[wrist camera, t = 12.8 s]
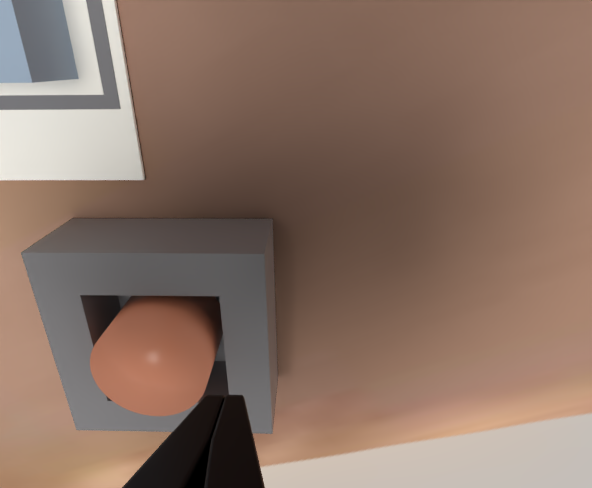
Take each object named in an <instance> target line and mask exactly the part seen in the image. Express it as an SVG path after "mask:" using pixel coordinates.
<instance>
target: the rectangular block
mask: <svg viewBox="0 0 592 488" xmlns="http://www.w3.org/2000/svg"><path fill="white" fill-rule="evenodd" d="M71 79H79V78H78V73H77V68H76V64H75V59H74V54H73V50H72V45H71V40H70V35H69V31H68V26H67V21H66V16H65V12H64V7H63V2H62V0H0V83H34V82H46V81H59V80H71Z"/></svg>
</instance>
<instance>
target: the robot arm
mask: <svg viewBox="0 0 592 488" xmlns="http://www.w3.org/2000/svg"><path fill="white" fill-rule="evenodd" d="M122 488H265V487H264V482H263V478H262V474H261V469H260V465H259V460H258V456H257V451H256V447H255V442H254V438H253V434H252V429H251V425H250V420H249V416H248V411H247V407H246V403H245V398H244V396H243V395H226V396H224V395H222V394H208V395H206V396H205V397H204V398H203V399H202V400H201V401H200V402H199V403H198V404H197V405H196V407H195V408H194V409H193V410H192V411H191V412H190V413H189V414H188V415H187V417H186V418H185V419H184V420H183V421H182V422H181V423H180V424H179V425H178V426H177V428H176V429H175V430H174V431H173V432H172V433H171V434H170V435H169V436H168V438H167V439H166V440H165V441H164V442H163V443H162V444H161V445H160V446H159V448H158V449H157V450H156V451H155V452H154V453H153V454H152V455H151V456H150V457H149V459H148V460H147V461H146V462H145V463H144V464H143V465H142V466H141V467H140V469H139V470H138V471H137V472H136V473H135V474H134V475H133V476H132V477H131V479H130V480H129V481H128V482H127V483H126V484H125V485H124V486H123V487H122Z"/></svg>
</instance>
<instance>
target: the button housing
mask: <svg viewBox="0 0 592 488" xmlns="http://www.w3.org/2000/svg"><path fill="white" fill-rule="evenodd" d="M21 255H22V258H23V261H24V264H25V267H26V270H27V274H28V277H29V280H30V283H31V286H32V290H33V293H34V296H35V299H36V302H37V305H38V309H39V312H40V315H41V318H42V321H43V325H44V328H45V331H46V334H47V337H48V340H49V344H50V347H51V350H52V353H53V356H54V360H55V363H56V366H57V369H58V372H59V375H60V379H61V382H62V385H63V388H64V391H65V394H66V398H67V401H68V404H69V407H70V410H71V414H72V417H73V420H74V423H75V426H76V429H77V430H105V431H159V432H173V431H174V430H175V429H176V428H177V426H178V425H179V424H180V423H181V422H182V421H183V420H184V419H185V418H186V417H187V415H188V414H189V413H190V412H191V411H192V410H193V409H194V408H195V407H196V405H197V404H198V403H199V402H200V401H201V400H202V399H203V398H204V397H205V396H206V395H208V394H222V395H224V396H226V395H243V396H244V398H245V403H246V407H247V411H248V416H249V420H250V425H251V429H252V433H265V434H272V433H273V423H274V413H275V403H276V393H277V383H278V362H277V333H276V303H275V274H274V245H273V219H186V218H72V219H71V220H69V221H68V222H66V223H65V224H63V225H62V226H60V227H59V228H57V229H56V230H54V231H53V232H51V233H50V234H48V235H47V236H45V237H44V238H42V239H41V240H39V241H38V242H36V243H35V244H33V245H32V246H30V247H29V248H27V249H26V250H24V251H23V252H21ZM131 296H215V297H216V299H217V300H218V302H219V303H220V309H221V319H222V329H223V335H222V339H221V342H220V345H219V348H218V351H217V354H216V358H215V361H214V364H213V367H212V370H211V373H210V377H209V380H208V383H207V386H206V389H205V392H204V394H203V396H202V397H201V398H200V400H199V401H198V402H197V403H196V404H195V405H194V406H192V407H191V408H189V409H187V410H185V411H183V412H181V413H178V414H174V415H169V416H149V415H143V414H139V413H135V412H132V411H130V410H127V409H125V408H123V407H121V406H119V405H118V404H116V403H115V402H113V401H112V400H110V399H109V398H108V397H107V396H106V395H105V394H104V393H103V392H102V391H101V390H100V388H99V387H98V385H97V384H96V382H95V380H94V378H93V376H92V373H91V369H90V356H91V352H92V349H93V347H94V345H95V343H96V342H97V341H98V339H99V338H100V337H101V335H102V334H103V333H104V331H105V330H106V329H107V327H108V326H109V325H110V324H111V322H112V321H113V320H114V318H115V317H116V316H117V314H118V313H119V312H120V310H121V309H122V308H123V306H124V305H125V304H126V302H127V301H128V300H129V298H130V297H131Z"/></svg>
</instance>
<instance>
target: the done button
mask: <svg viewBox="0 0 592 488" xmlns="http://www.w3.org/2000/svg"><path fill="white" fill-rule="evenodd" d="M222 335H223V329H222V319H221V309H220V303H219V302H218V300H217V299H216V297H215V296H131V297H130V298H129V300H128V301H127V302H126V304H125V305H124V306H123V308H122V309H121V310H120V312H119V313H118V314H117V316H116V317H115V318H114V320H113V321H112V322H111V324H110V325H109V326H108V327H107V329H106V330H105V331H104V333H103V334H102V335H101V337H100V338H99V339H98V341H97V342H96V343H95V345H94V347H93V349H92V352H91V356H90V369H91V373H92V376H93V378H94V380H95V382H96V384H97V385H98V387H99V388H100V390H101V391H102V392H103V393H104V394H105V395H106V396H107V397H108V398H109V399H110V400H112V401H113V402H115V403H116V404H118V405H119V406H121V407H123V408H125V409H127V410H130V411H132V412H135V413H139V414H143V415H149V416H169V415H174V414H178V413H181V412H183V411H185V410H187V409H189V408H191V407H192V406H194V405H195V404H196V403H197V402H198V401H199V400H200V398H201V397H202V396H203V394H204V392H205V389H206V386H207V383H208V380H209V377H210V373H211V370H212V367H213V364H214V361H215V358H216V354H217V351H218V348H219V345H220V342H221V339H222Z"/></svg>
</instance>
